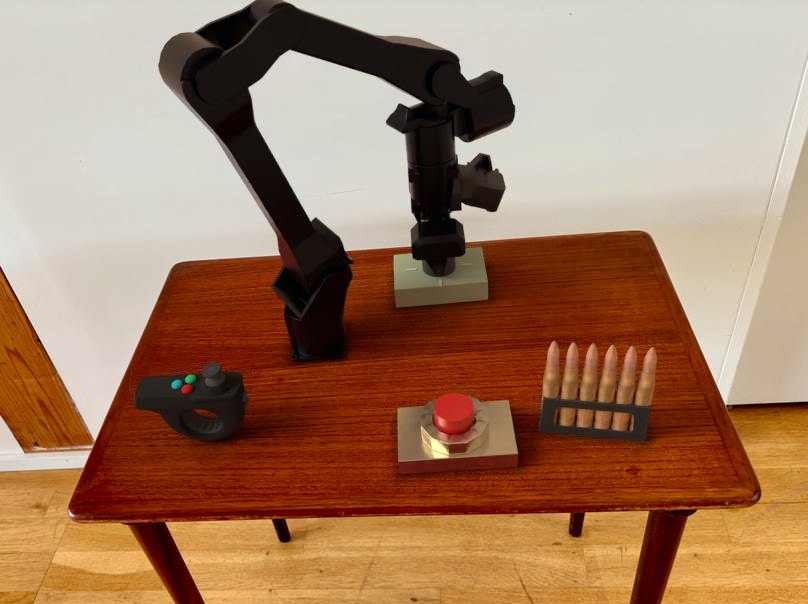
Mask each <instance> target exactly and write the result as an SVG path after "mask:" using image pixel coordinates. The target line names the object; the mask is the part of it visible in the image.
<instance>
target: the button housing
mask: <svg viewBox="0 0 808 604" xmlns="http://www.w3.org/2000/svg"><path fill="white" fill-rule="evenodd" d="M443 395H444V394H442V395H440V396H438V397H436V398H434V399H432V400H430V401H429V402H427V404H426V405H419V406H404V407H397V408H396V418H397V419H396V423H397V464H398V470H399V475H401V476H403V475H417V474H433V473H434V474H435V473H447V472H449V473H450V472H462V471H480V470H494V469H495V470H496V469H508V468H509V469H511V468H518V466H519V450H518V449H519V448H518V444H517V438H516V434H515V428H514V422H513V417H512V410H511V406H510V401H509V399H500V400H488V401H480V400H479V399H478V398H476V397H473V396H471V395H467V394H465V395H466V396H467V397H469V398H470V399H471V400H472V402H473V405H474V423H473V425H472V427H471V428H470V429H469V430H468V431H466V432H464V433H462V434H457V435H451V434H446V433H444V432H442V431H441V430H439V429H438V427H437V426H436V424H435V416H434V404H435V402H436V400H437V399H438V398H439V397H441V396H443Z"/></svg>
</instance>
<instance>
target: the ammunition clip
mask: <svg viewBox="0 0 808 604" xmlns="http://www.w3.org/2000/svg"><path fill="white" fill-rule="evenodd" d="M559 349H560V348H559V346H558V343H557V341H556V340H553V341H552V342H551V343H550V345H549V348H548V351H547V355H546V362H545V369H544V371H543V378H542V391H541V392H542V394H541V405H540V406H541V407H540V415H539V423H538V432H541V433H548V434H560V435H568V436H569V435H571V436H581V437H590V438H600V439H601V438H602V439H611V440H612V439H613V440H621V441H631V442H632V441H633V442H646V441H647V438H648V437H647V436H648V431H649V423H650V416H651V415H650V414H651V408H652V407H651V406H652V401H653V398H654V397H653V396H654V392H655V386H656V369H657V365H658V364H657V360H658V356H657V351H656V349H655V347H654V346H652V347H650V348H649V349H648V351H647V353H646V355H645V357H644V359H643V364H642V368H641V370H640V373H639V376H638V378H637V376H636V374H637V363H638V354H637V350H636V347H635V346H634V345H631V346H630V347H629V349H627V352H626V354H625V356H624V360H623V362H622V363H623V364H622V367H621V368H622V369H621V370H620V371H621V373H620V374H619V377H618V376H617V372H618V367H617V366H618V351H617V348H616V345H615V344H611V345H610V347H608V350H607V351H606V354H605V357H604V361H603V365H602V370H601V373H600V376H599V373H598V370H599V366H598V364H599V353H598V348H597V345H596V343H594V342H593V343H591V344H590V346H589V347H588V350H587V352H586V356H585V358H584V359H585V360H584V365H583V370H582V373H581V375H580V373H579V361H580V359H579V350H578V346H577V343H576V342H575V341H573V342H572V343H571V344H570V345H569V347H568V350H567V353H566V356H565V362H564V368H563V372H562V375H561V371H560V350H559ZM579 381H580V382H579Z"/></svg>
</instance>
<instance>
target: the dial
mask: <svg viewBox="0 0 808 604" xmlns="http://www.w3.org/2000/svg"><path fill="white" fill-rule="evenodd" d="M455 268H456V262H455V257H452V258H448V259H447V264H446V268H445V272H444V275H442V276H435V274H434V273H433V271H432V270H431V268H430V267H429V265H428V264H427V262H426V261H425V260H422V269H423V271H424V273H425V274H427V275H429V276H432V277H443V276H447V275H449V274H451V273H452V272H453V271H454V270H455Z"/></svg>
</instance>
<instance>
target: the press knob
mask: <svg viewBox="0 0 808 604" xmlns="http://www.w3.org/2000/svg"><path fill="white" fill-rule="evenodd" d="M442 395H443V396H442ZM442 395H440V396H441V397H440V396H438V397H439V398H438V397H437V398H438V399H437V400H436V402H435V404H434V416H435V424H436V426H437V427H438V429H439V430H441V431H442V432H444V433H446V434H451V435H457V434H462V433H464V432H466V431H468V430H469V429H470V428H471V427H472V425H473V423H474V405H473V402H472V400H471V399H470V398H469V397H467V396H468V395H467V394H464V393H460V392H448V393H445V394H442ZM466 395H467V396H466Z"/></svg>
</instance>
